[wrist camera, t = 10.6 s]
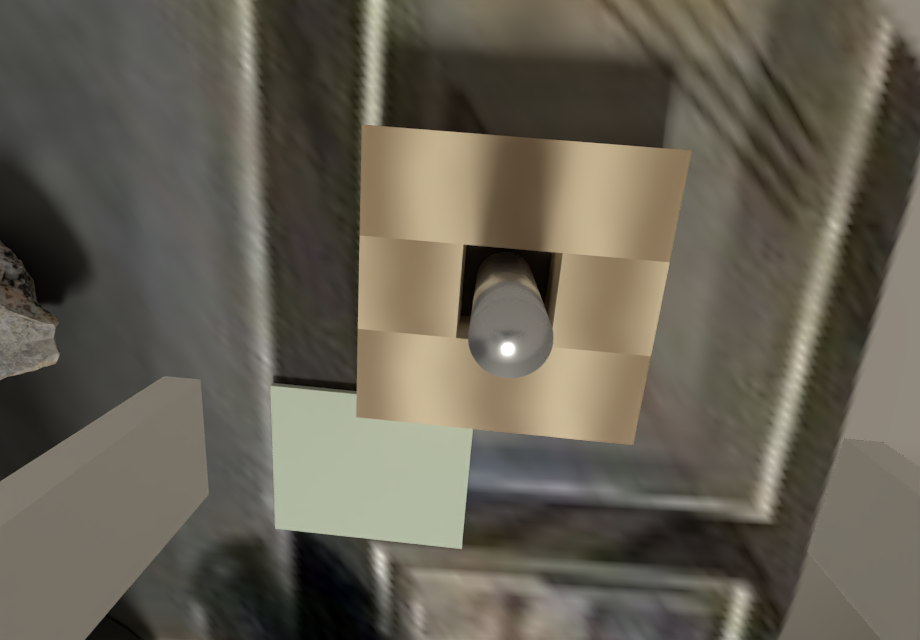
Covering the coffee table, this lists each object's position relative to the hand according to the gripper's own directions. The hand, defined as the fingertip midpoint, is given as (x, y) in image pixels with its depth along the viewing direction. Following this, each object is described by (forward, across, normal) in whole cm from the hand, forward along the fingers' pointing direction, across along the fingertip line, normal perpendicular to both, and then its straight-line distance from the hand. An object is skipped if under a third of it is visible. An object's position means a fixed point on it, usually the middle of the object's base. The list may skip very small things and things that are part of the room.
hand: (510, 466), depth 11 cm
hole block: (+18, +1, 0) cm, 18 cm away
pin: (+18, 0, 0) cm, 18 cm away
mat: (+18, -6, -12) cm, 23 cm away
